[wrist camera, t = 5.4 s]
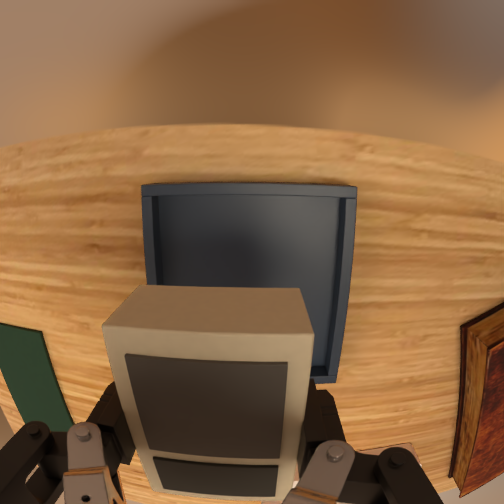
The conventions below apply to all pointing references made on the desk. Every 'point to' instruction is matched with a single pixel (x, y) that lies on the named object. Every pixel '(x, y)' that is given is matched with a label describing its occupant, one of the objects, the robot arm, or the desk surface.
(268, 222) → the tray
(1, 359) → the mat
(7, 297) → the desk surface
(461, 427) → the book
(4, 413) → the desk surface
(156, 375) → the beige rectangular block
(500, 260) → the desk surface
